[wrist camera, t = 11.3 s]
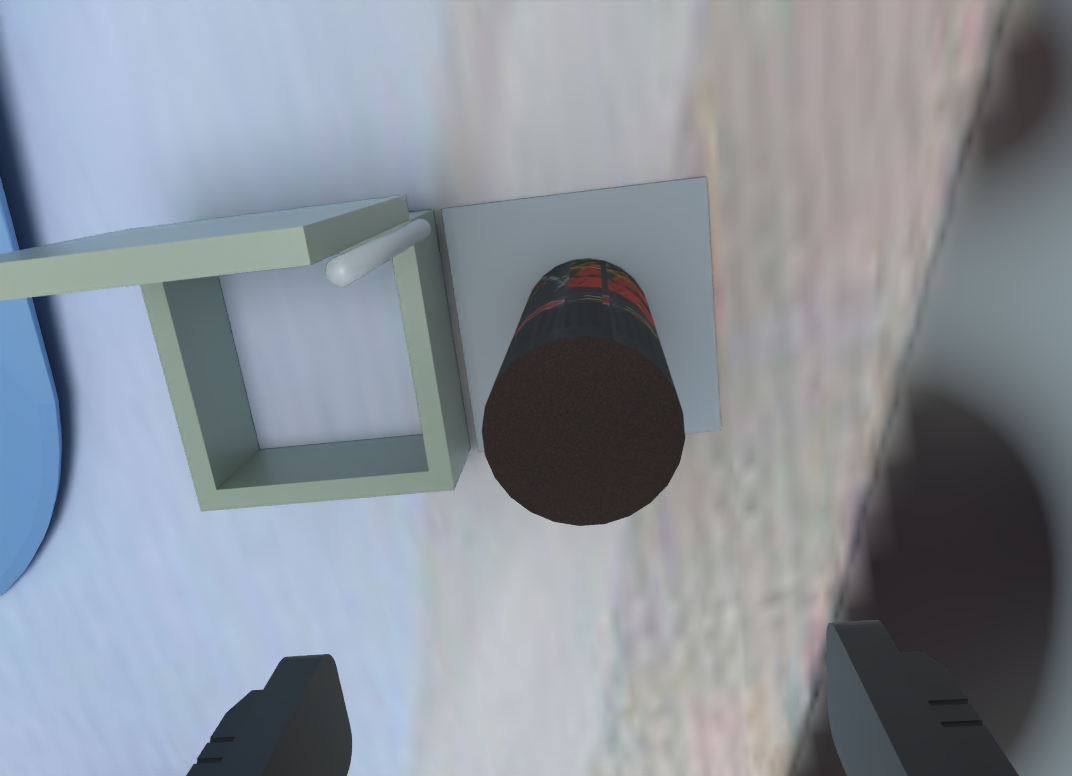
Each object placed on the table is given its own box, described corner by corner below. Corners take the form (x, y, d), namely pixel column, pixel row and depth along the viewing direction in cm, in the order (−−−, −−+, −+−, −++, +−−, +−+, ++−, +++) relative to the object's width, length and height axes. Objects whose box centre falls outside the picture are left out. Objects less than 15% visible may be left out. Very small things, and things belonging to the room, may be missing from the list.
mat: (443, 208, 37) (441, 209, 36) (704, 176, 36) (706, 177, 35) (479, 447, 40) (478, 452, 40) (719, 426, 39) (721, 430, 39)
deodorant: (661, 366, 38) (702, 505, 24) (540, 392, 39) (510, 542, 24) (635, 244, 36) (662, 314, 22) (510, 274, 37) (457, 361, 23)
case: (183, 218, 38) (-120, 277, 22) (446, 185, 37) (332, 222, 21) (245, 468, 42) (26, 678, 26) (486, 447, 40) (415, 653, 24)
